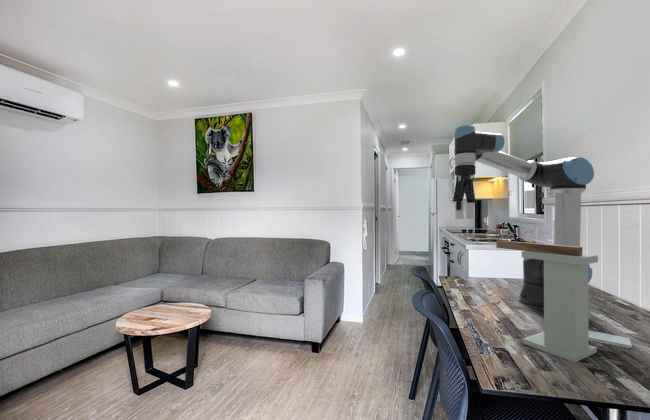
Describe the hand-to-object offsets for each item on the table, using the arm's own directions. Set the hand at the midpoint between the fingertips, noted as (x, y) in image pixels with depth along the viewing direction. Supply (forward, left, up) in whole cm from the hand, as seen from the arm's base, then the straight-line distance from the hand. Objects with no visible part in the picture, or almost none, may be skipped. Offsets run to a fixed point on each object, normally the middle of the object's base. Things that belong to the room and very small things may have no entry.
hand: (464, 218), depth 122 cm
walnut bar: (+8, +24, -10) cm, 28 cm away
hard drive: (-9, +41, -40) cm, 58 cm away
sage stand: (+9, +30, -39) cm, 50 cm away
